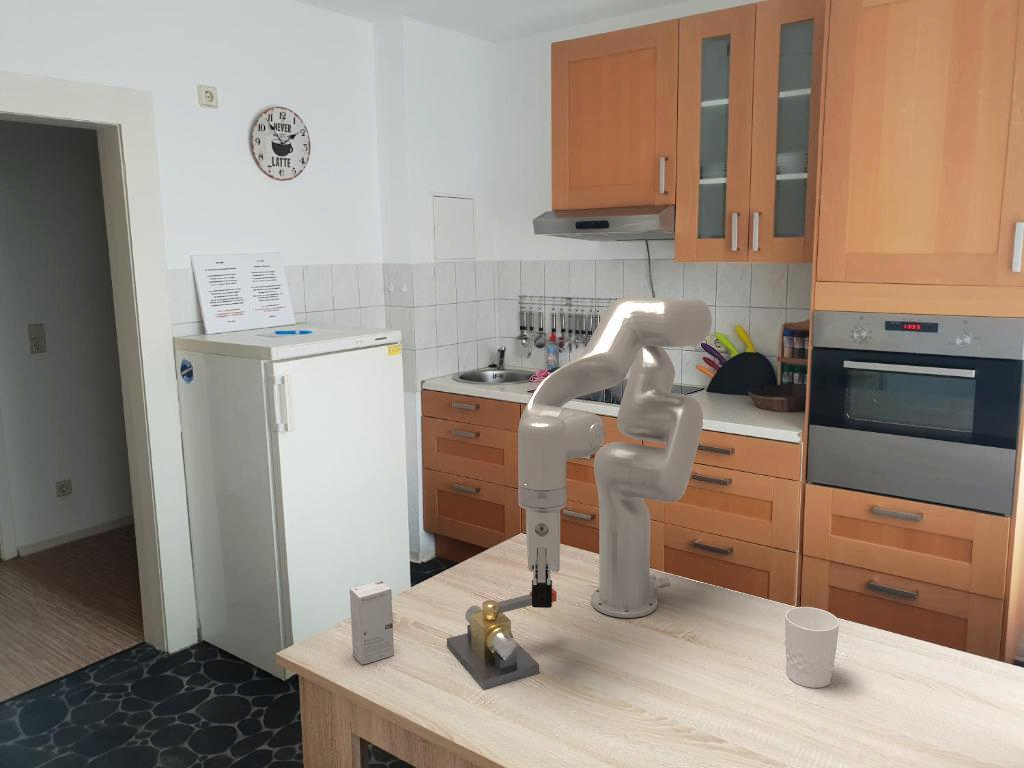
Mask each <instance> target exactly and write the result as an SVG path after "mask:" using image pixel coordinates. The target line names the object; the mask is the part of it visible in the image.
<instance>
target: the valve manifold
mask: <svg viewBox="0 0 1024 768" xmlns="http://www.w3.org/2000/svg"><path fill="white" fill-rule="evenodd" d="M464 618H465V620H466V622H468V624H467V626H466V627H467V628H466V629H467V633H462V634H458V635H455V636H451V637H448V638H446V647H447V649H448V650H449V651H450V652H451V653H452V654H453V655H454V657H455V658H456V659H457V660H458V661H459V662H460V664H461V665H462V666H463V667H464V668H465V669H466V670H465V671H467V672H468V673H469V674H470V676H471V677H472V678H473V679H474V680H475V682H476V683H477V684H478V685H479V686H480V687H481V689H482V690H483V691H484V690H487V689H491V688H493V687H497V686H501V685H503V684H507V683H511V682H513V681H517V680H520V679H523V678H526V677H530V676H534V675H537V674H539V673H540V663H539V662H537V660H536V659H534V658H533V657H532V656H531V655H530V654H529V653H528V651H526V650H525V648H523V647H522V646H521V645H520V644H519V643H518V642H517V641H516V640H515V639H514V636H513V633H512V620H511V619H510V618H509V617H508V616H506V614H504V612H503V613H500V614H498V617H497V618H495V619H485V618H484V617H483V608H482V607H480V606H479V605H472V606H470V607H469V608H468V609H467V610H466V611H465V617H464Z"/></svg>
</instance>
